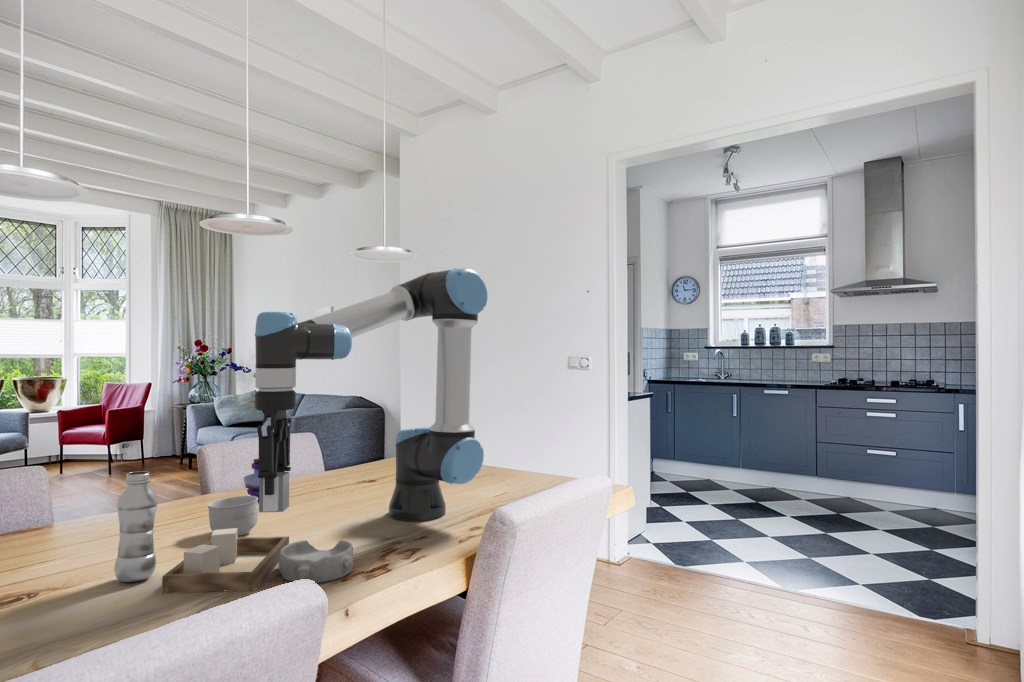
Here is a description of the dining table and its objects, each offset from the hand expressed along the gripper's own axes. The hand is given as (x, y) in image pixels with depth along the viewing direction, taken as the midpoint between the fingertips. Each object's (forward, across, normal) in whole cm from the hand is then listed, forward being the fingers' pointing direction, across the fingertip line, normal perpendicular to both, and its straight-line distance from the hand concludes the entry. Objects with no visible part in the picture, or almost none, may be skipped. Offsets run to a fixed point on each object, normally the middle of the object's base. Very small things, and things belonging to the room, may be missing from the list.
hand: (274, 507), depth 117 cm
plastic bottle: (+12, +4, -24) cm, 27 cm away
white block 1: (+12, +5, -12) cm, 18 cm away
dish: (+13, +2, +9) cm, 16 cm away
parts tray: (+12, 0, -8) cm, 15 cm away
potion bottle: (+13, -58, -23) cm, 64 cm away
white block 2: (+12, -6, -12) cm, 18 cm away
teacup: (+13, -26, -17) cm, 34 cm away
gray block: (0, 0, 0) cm, 0 cm away
